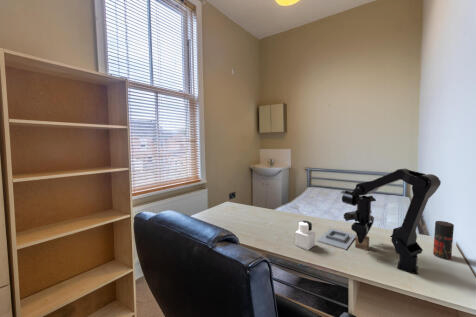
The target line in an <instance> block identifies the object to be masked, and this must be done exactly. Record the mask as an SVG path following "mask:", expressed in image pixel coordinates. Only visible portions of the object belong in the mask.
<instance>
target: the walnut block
mask: <svg viewBox="0 0 476 317" xmlns="http://www.w3.org/2000/svg"><path fill="white" fill-rule="evenodd" d="M354 241H355V242H354V245H355V246H354V247H355V248H357V249H360V250H363V251H368V249H369V248H370V236H365V238H364V240H363V242H362V244H360V243H359V241H358V237H357V236H356V237H355V239H354Z"/></svg>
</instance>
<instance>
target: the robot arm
mask: <svg viewBox="0 0 476 317" xmlns="http://www.w3.org/2000/svg"><path fill="white" fill-rule="evenodd" d="M399 181H403V182H404V183H406V184H408V185H410V186H412V187H411V191H412V198H411V200H410V203H409V206H408V209H407V210H406V214H405V217H404V219H403V221H402V223H401V226H398V227H396V228H393V229H392V234H391V235H390V238H391V240H390V241H391V243H392V244H393V248H394V251H395V254H397V255H399V256H398V261H397V266H396V268H397V269H399V270H402V271H404V272H407V273H410V274H414V275H419V265H418V255H420V254H422V252H423V251H424V249H423V247H421V246H420V244H419V243H418V242H417V239H418V236H417V235H418V234H417V228H418V227H419V223H420V221H421V218H422V215H423V213H424V212H425V209H426V207H427V203H428V202H429V200H430V198H431V197H432V196H433V195H434V194H435V193H436V191H438V189H439V187H440V186H441V183H442V181H441V179H440V178H439V177H438V176H437V175H435V174H431V173H423V172H418V171H415V170H411V169H408V168H399V169H396V170H394V171H391V172H390V173H388V174H385V175H383V176H380V177H378V178H376V179H373V180H369V181H364V182H359V183H356V184H355V188H354V189H353V190H352V191H351V190H348V189H347V190H344V193H343V194H342V196H341V202H342V203H344V204H346V205H350V206H354V207H356V210H355V211H354V210H353V211H348V212H344V214H343V219H344V220H345V222H348V221H354V222H353V223H352V224H351V228H350V229H351V230H352V231H353V232H354V233H355V234H356V235H357V237H358V241H359V243H360V244H362V242H363V240H364V238H365V236H367V235H368V234H369V231H370V230H371V228H372V226H373V224H374V222H375V217H374V216H373V215H371V214H372V209H371V208H372V202H376V201H377V200H376V198H375V197H374V196H373V195H371V194H373V193H375V192H377V190H379V189H381V188H382V187H385V186H388V185H390V184H394V183H396V182H399ZM367 195H368V196H367Z"/></svg>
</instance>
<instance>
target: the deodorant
mask: <svg viewBox="0 0 476 317" xmlns="http://www.w3.org/2000/svg"><path fill="white" fill-rule="evenodd" d="M454 228H455V224H453V223H452V222H448V221H445V220H435V223H434V234H433V235H434V237H433V238H434V239H433V249H432V251H433V252H432V254H433V256H435V257H436V258H439V259H441V260H449V261H450V260H452V253H453V242H454Z"/></svg>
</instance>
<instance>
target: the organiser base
mask: <svg viewBox="0 0 476 317" xmlns="http://www.w3.org/2000/svg"><path fill="white" fill-rule="evenodd" d="M356 236H357V234H356V233H352V232H349V231H343V230H340V229H337V228H332V227H329V229H327V231H326V232H324V234H322V235H321V236H320V237H319V238H318V239H317V240H316V241H317V243H318V242H319V243H321V244H322V243H323V244H325V245H328V246H331V247H335V248H339V249H342V250H348V248H349V247H350V246H351V244H352V243H353V242H354V241H355V238H356Z"/></svg>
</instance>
